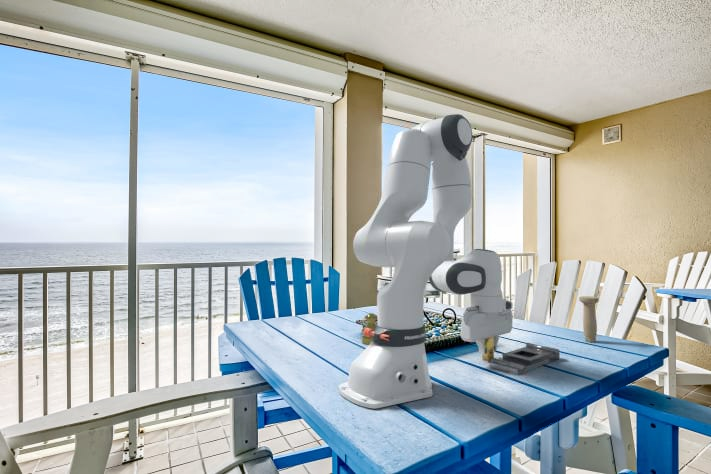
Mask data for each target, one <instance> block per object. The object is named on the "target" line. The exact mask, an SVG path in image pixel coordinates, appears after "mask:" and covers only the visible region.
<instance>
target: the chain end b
mask: <svg viewBox="0 0 711 474" xmlns="http://www.w3.org/2000/svg"><path fill="white" fill-rule="evenodd" d="M520 355H526V356H530V358H529V357H524V356H520ZM560 355H561V354H560V349H559V348H556V347H555V348H554V347H549V346H544V345H540V344H535V343H530V342H526V344H525V346H524V347H521V348H518V349H514V350H510V351H508V352H504V353H502V358H504V359H507V360H511V361H515V362H519V363H523V364H527V365H532V364H535V363H538V362H541V361H543V360H546V359H549V363H550V364H551V363H552V362H554V361H557V360H560V359H561V358H560V357H561V356H560ZM549 363H548V364H549Z"/></svg>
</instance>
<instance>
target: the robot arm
mask: <svg viewBox="0 0 711 474" xmlns="http://www.w3.org/2000/svg"><path fill="white" fill-rule="evenodd" d="M472 129H473V128H472V126H471V123H470V122H469V120H468V119H467V117H465V116H464V115H463V114H459V113H458V114H457V113H456V114H448V115H445V116H444V117H443V116H442V117H439V118H436V119H432V120H427V121H424V122H421V123H419V124H417V125H414V126H413V127H410V128H406V129H403V130H401V131H399V132H398V133H397V134H396V136H395V137H394V139H393V142H392V145H391V148H390V151H389V154H388V158H387V159H388V160H387V165H386V166H387V167H386V171H385V172H386V173H385V177H384V178H385V179H384V183H383V184H384V185H383V190H382V194H381V198H380V200H379V203H378V205H377V207H376V209H375V210H374V212H373V214H372V216H371V218H369V220H368V221H367V222H366V224H365V225H364V226H362V227H361V228H360V229H359V230H357V232H356V233H355V235H354V238H353V242H352V247H353V253H354V256H355V257H356V259H357V260H358V261H359V262H361V263H362V264H366V265H369V266H372V267H377V268H394V270H393V271H394V272H393V275H392V278H391V280H390V282H389V283H387V284H385V285H384V286H382V287H381V288H380V289H379V291H378V292H377V295H376V308H377V309H376V312H377V314H376V315H377V320H376V321H377V323H376V327H375V330H373V329H369V328H365V329H364V332H363V333H365V334H364V336H366V337H370V338H371V337H372V342H371V343H370V344H367V346H366V347H365V349H364V350H363V351H361V353H360V354H359V355H358V356H357V357H356V358H355V359H354V360H352V362H351V363H350V367H349V372H348V379H347V380H348V381H345V382H343V383H341V384H340V383H339V385H338V393H339V394H340V396H342V397H343V398H344V399H346V400H347V401H349V402H351V403H353V404H356V405H357V406H361V407H363V408H369V409H380V408H385V407H389V406H395V405H398V404H399V405H400V404H403V403H407V402H412V401H413V402H414V401H416V400H417V401H418V400H421V399H426V398H430V397H432V396H433V395H434V394H433V389H432V387H433V384H432V381H431V376H430V374H429V373H430V372H429V366H428V358H427V354H426V346H425V342H426V340H427V338H426V337H427V331H426V325H425V323H424V302H425V299H424V298H425V291H426V288H427V285H428V282H429V284H430V285H431V287H432V288H433V289H434V290H436V291H437V292H440V293H448V294H452V295H453V294H454V295H459V296H462V295H468V294H470V307H466V308H465V310H464V312H463V313H462V317H461V324H460V338H461V340H462V341H465V342H469V343H475V344H476V345H477V347H478V353H479V354H480V355H482V354H483V355H484V354H487V348H486V347H485V345H484V343H485V339H487V338H491V337H493V341H494V352H496V351H498V350H497V348H498V347H497V346H498V343H499V340H500V336H501V335H502V336H503V335H506V334H510V333H511V331H512V329H513V312H512V309H513V306H514V305H513V301H510V300H508V299H505V298H503V297H504V296H503V291H502V282H503V271H502V270H503V269H502V261H501V258H500V255H499V254H498V253H497V252H496V251H494V250H491V249H483V248H475V249H472V250H471V251H470V252H469V253H468V254H466V255H465V256H462V257H460V258H459V259H456V260H455V257H454V256H455V255H454V253H455V252H454V251H455V249H454V247H455V246H454V243H455V242H454V239H455V238H454V237H455V230H456V227H457V226H458V224H459V223H460V221H461V220H462V219H463V218H464V217H465V216H466V215H467V214H468V212H469V211H470V209H471V207H472V197H473V195H472V194H473V193H472V191H473V190H472V181H471V174H470V168H469V164H468V159H467V158H466V157H467V154H468V151H469V149H470V147H471V144H472V141H473V130H472ZM431 168H432V172H431ZM431 173H432V174H431ZM430 176H431V177H430ZM430 178H431V190H432V191H431V192H432V193H431V194H432V208H433V219H432V220H433V221H425V220H413V221H410V219H411V218H412V216H413V215H414V214H415V213H416V212H418V211H419V210H420V209H422V208H423V206H424V205H425V204H426V203H427V200H428V196H429V195H428V194H429V185H430Z"/></svg>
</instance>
